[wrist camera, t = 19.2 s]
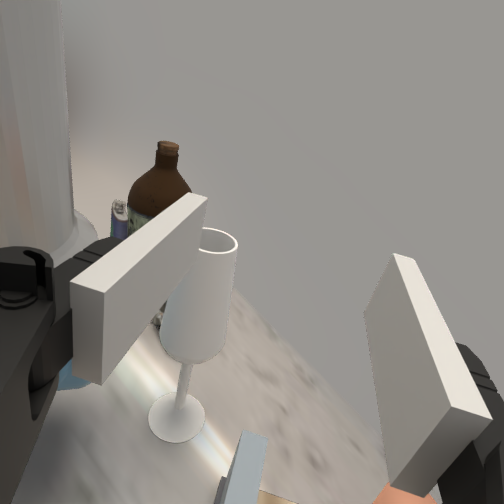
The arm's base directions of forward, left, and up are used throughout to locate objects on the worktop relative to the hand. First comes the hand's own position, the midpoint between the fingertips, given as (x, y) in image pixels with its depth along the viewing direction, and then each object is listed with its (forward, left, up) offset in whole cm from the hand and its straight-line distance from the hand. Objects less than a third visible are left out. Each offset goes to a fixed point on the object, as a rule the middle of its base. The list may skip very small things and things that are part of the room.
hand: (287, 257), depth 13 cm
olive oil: (+24, +38, -32) cm, 55 cm away
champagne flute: (+10, +13, -32) cm, 36 cm away
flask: (+24, +50, -32) cm, 64 cm away
